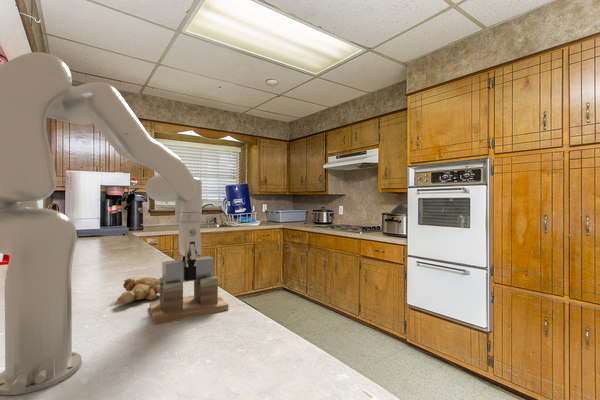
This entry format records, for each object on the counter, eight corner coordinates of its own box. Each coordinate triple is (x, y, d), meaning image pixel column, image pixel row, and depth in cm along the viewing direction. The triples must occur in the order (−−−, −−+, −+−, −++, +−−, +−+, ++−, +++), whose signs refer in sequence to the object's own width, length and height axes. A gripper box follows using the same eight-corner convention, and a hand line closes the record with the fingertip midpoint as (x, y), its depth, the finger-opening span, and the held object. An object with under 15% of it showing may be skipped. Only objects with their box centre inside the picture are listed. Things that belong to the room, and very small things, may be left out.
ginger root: (162, 283, 111) (162, 263, 110) (172, 305, 99) (173, 283, 97) (113, 292, 102) (113, 271, 100) (118, 318, 90) (117, 294, 88)
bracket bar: (213, 277, 92) (213, 258, 92) (165, 285, 84) (165, 264, 84) (208, 274, 95) (208, 256, 95) (162, 282, 87) (162, 261, 87)
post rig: (228, 309, 89) (228, 278, 89) (154, 324, 78) (154, 288, 78) (215, 296, 101) (215, 268, 101) (149, 307, 90) (149, 276, 90)
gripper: (208, 219, 84) (208, 283, 84) (195, 216, 98) (195, 270, 99) (180, 220, 80) (180, 287, 80) (170, 216, 94) (170, 273, 95)
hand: (188, 277), depth 89 cm, fingers closed on bracket bar, 4 cm apart
